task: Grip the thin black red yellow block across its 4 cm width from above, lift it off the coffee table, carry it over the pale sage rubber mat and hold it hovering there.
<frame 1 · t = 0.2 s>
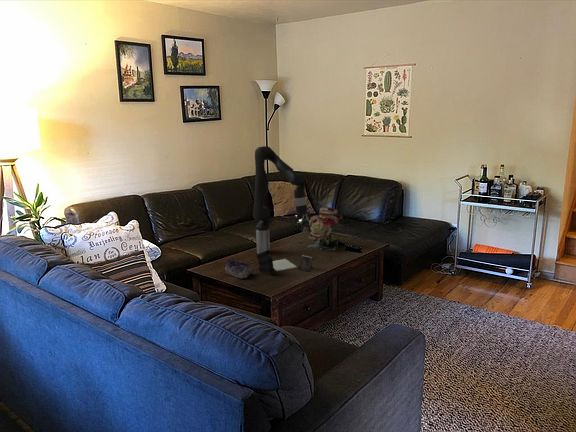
hand: (304, 228, 304), 23 cm above the table, fingers open, 8 cm apart
sage mat: (281, 265, 303), on the table
geode: (237, 275, 289), on the table
portable electronic device stand: (306, 269, 295), on the table
rose bouquet: (323, 246, 340), on the table
black red yellow block: (265, 272, 291), on the table
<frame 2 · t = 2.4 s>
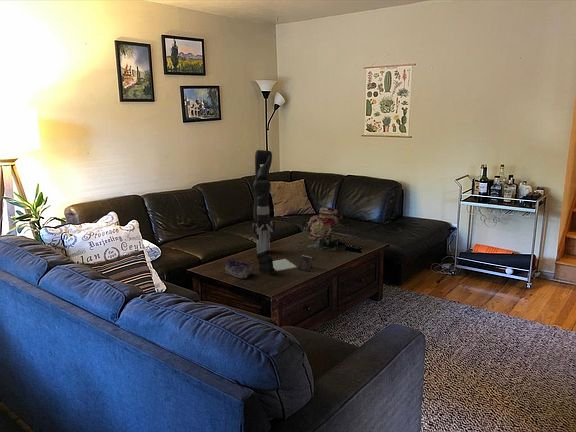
hand: (264, 238, 286), 22 cm above the table, fingers open, 8 cm apart
nothing on the table moved.
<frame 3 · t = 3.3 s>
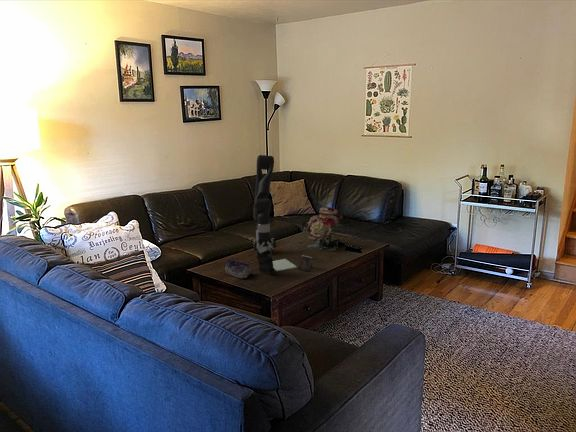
hand: (265, 255, 288), 11 cm above the table, fingers open, 8 cm apart
nothing on the table moved.
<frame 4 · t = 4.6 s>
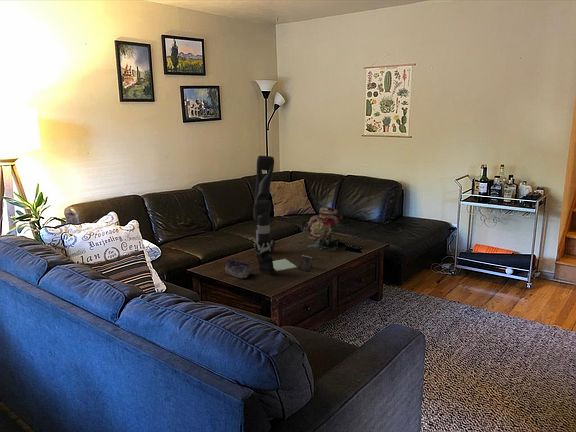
hand: (265, 257, 289), 9 cm above the table, fingers closed on black red yellow block, 4 cm apart
black red yellow block: (265, 272, 291), on the table, touching gripper
everything else where it was.
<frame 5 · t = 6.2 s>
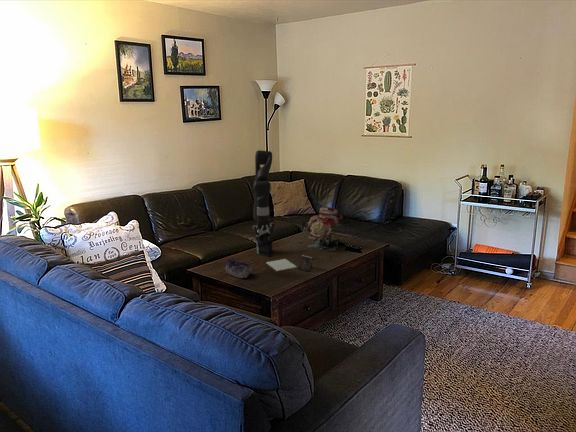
hand: (264, 240, 286), 21 cm above the table, fingers closed on black red yellow block, 4 cm apart
black red yellow block: (264, 255, 289), point 11 cm above the table, touching gripper
everything else where it was.
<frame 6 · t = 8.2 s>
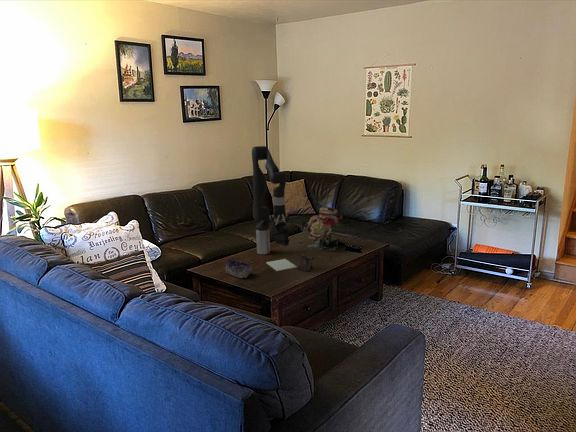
hand: (280, 229, 297), 24 cm above the table, fingers closed on black red yellow block, 4 cm apart
black red yellow block: (280, 243, 300), point 15 cm above the table, touching gripper
everything else where it was.
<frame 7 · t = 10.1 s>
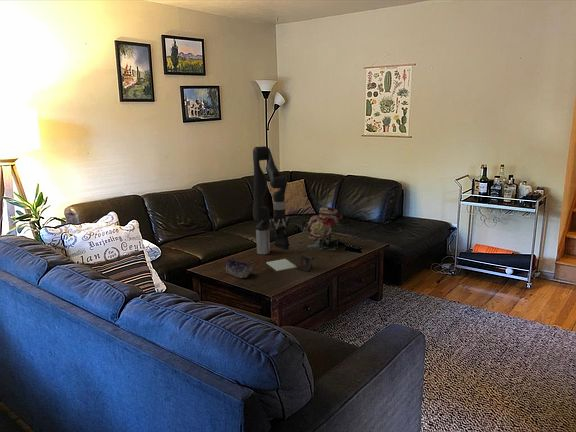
hand: (280, 233, 298), 21 cm above the table, fingers closed on black red yellow block, 4 cm apart
black red yellow block: (280, 248, 300), point 12 cm above the table, touching gripper
everything else where it was.
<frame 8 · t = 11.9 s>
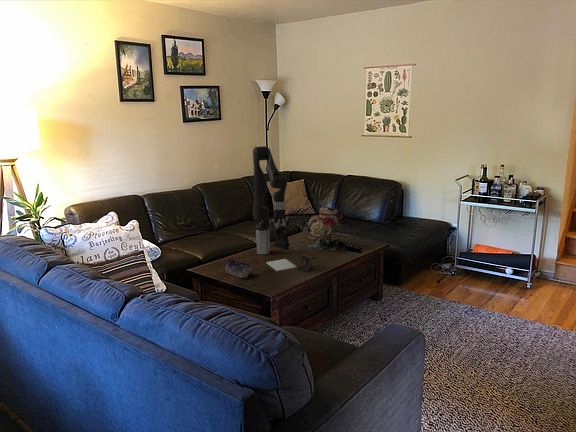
hand: (280, 233, 298), 21 cm above the table, fingers closed on black red yellow block, 4 cm apart
black red yellow block: (280, 248, 300), point 12 cm above the table, touching gripper
everything else where it was.
at the end: the gripper is holding black red yellow block; black red yellow block point 11.6 cm above the table; black red yellow block 0.0 cm from the sage mat (horizontally) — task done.
